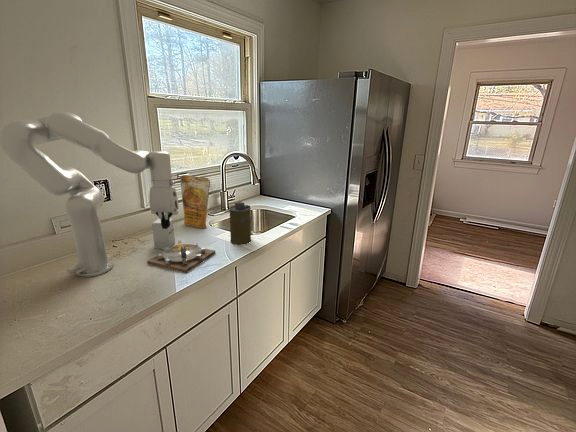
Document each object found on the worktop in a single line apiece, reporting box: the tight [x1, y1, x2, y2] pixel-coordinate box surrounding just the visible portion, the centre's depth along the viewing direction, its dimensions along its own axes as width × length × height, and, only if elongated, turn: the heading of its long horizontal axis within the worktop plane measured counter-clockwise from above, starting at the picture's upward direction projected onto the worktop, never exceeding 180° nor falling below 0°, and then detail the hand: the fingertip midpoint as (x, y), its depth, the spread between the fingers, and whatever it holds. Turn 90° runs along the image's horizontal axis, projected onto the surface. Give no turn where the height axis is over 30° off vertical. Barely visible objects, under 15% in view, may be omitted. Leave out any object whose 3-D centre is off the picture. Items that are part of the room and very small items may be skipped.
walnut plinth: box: [146, 240, 217, 274], centre depth 133 cm, size 20×20×4 cm
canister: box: [228, 201, 252, 246], centre depth 151 cm, size 11×10×20 cm
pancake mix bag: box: [179, 174, 211, 229], centre depth 170 cm, size 7×19×28 cm, turn 64°
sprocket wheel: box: [157, 242, 206, 264], centre depth 132 cm, size 19×19×6 cm
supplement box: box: [151, 218, 176, 250], centre depth 144 cm, size 7×7×13 cm
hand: (165, 227), depth 125 cm, fingers closed
